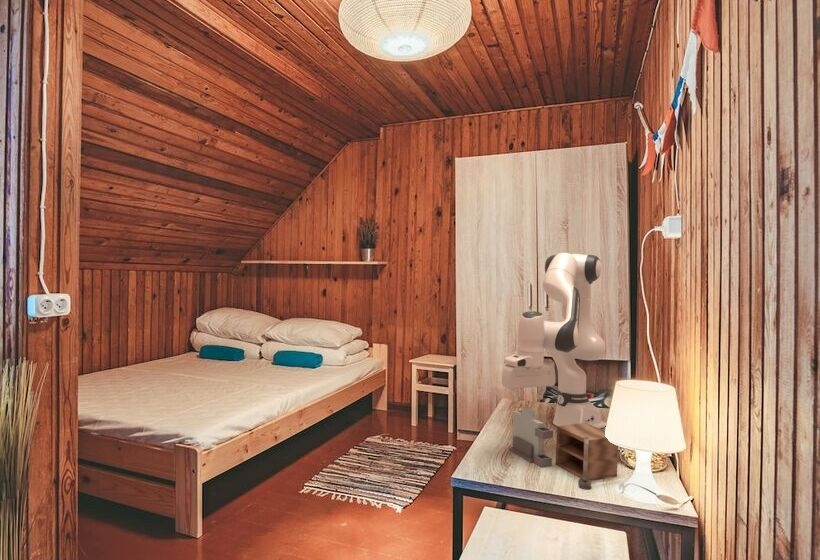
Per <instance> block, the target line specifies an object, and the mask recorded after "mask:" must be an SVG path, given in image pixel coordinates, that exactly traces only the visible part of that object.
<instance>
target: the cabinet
mask: <svg viewBox="0 0 820 560" xmlns="http://www.w3.org/2000/svg"><path fill="white" fill-rule="evenodd" d="M605 431H606V430H604V429H603V428H597V427H595V426H592V425H590V424H587V423H580V424H572V425H564V426H556V443H555V444H556V445H555V448H556V449H555V465H556V466H558V467H559V468H561V469H563V470H564V471H567V472H568V473H570V474H572V475H574V476H575V477H577V478H580V479H578V481H577V484H578V487H579V488H580V489H582V490H591V489H592V482H593V481H594V482H595V481H600V480H605V479H610V478H616V477H617V476H618V460H619V459H618V457H619V456H618V455H619V448H618V446H616V445H614V444H612V443H610V442H609V441H608V439H607V438H606V437H605Z"/></svg>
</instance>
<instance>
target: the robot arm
mask: <svg viewBox="0 0 820 560" xmlns="http://www.w3.org/2000/svg"><path fill="white" fill-rule="evenodd" d="M601 272H602V264H601V259H600V258H599V257H598V256H597V255H593V254H581V253H569V252H559V253H557V254H552V255H550V256H548V258H546V260H545V263H544V273H545V274H544V277H543V281H542V287H543V290H544V292H545V295H547V296H548V297H549V298H551V299H552V300H554V301H556V302H559V303H561V304H562V307H561V308H562V309H561V316H562V317H563V319H564V320H563V321H559V322H558V321H549V320H545V317H544V314H543V313H542V312H540V311H532V310H531V311H524V312H523V313H521V315H520V318H519V321H518V328H517V330H518V331H517V339H518V346H517V348H516V352H515V353H513V354H511V355H509V356H506V357H504V359H503V362H504V364H505V365H504V366H503V369H502V373H501V374H502V375H501V384H502V386H503V387H504V388H505V389H509V390H510V391H511V393H512V395H513V401H514V402H520V401H521V395H519V394H518V392H519V389H525V388H526V389H527V388H529V389H530V388H539V391H538V393H536V397H535V398H536V400H539V401H540V400H543V399H544V395H545V393H546V390H547V387H554V386H555V384H556V370H555V365H556V369H557V377H558V378H557V379H558V380H557V381H558V382H557V383H558V385H557V390H556V407H555V411H554V412H555V413H554V418H553V420H552V423H553V425H554V426H556V427H557V426H564V425H572V424H580V423H587V424H590V425H592V426H595V427H597V428H599V429H604V428H606V427H605V425H606V422H605V421H603V420H602V412H601V411H600V409H599V408H598V407H596V406H595V405H594V404H593V403H592V402H591V401H590V399H594V393H592V392H587V374H586V371H584V370H583V369H582V368H581V367H580V366H579V365H578V364H577V361H576V360H575V359H577V360H582V361H599V360H601V359H602V358H603V357H604V355H605V352H606V347H607V346H606V343H605V341H604V338H602V336H600V335H599V334H598V333H597V331H596V330H595V328H594V326H593V323H592V318H591V303H592V290H591V289H592V287H591V286H592V284H593V282H596V281H597V280H598V279H599V278H600V276H601ZM545 350H546V352H547V353H548V354H549V355H550V356H551V357H552V359H553V360H552V359H551V358H545V357H544V355H545ZM589 398H590V399H589Z"/></svg>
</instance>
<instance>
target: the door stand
mask: <svg viewBox="0 0 820 560" xmlns="http://www.w3.org/2000/svg"><path fill="white" fill-rule="evenodd" d="M533 447H534V446H533V445H531V444H529V443H527V442H525V441H524V440H522V439H520V438H518V437H516V436H513V446H508V450H509V452H512V453H513V454H515V455H516V456H518V457H520V458H522V459H524V460H525V461H527V462H529V463H531V464H532V463H534V458H533Z"/></svg>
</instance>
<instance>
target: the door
mask: <svg viewBox="0 0 820 560" xmlns="http://www.w3.org/2000/svg"><path fill="white" fill-rule="evenodd" d="M512 413H513V414H512V437H511V439H512V440H511V447H513V436H516V437H518V438H520V439H522V440H524V441H525V442H527V443H529V444H531V445H533V446H534V447H533V458H534V462H533V463H534V464H535V465H537V466H539V467H541V468H546V467H547V468H548V467H551V466H553V457H551V456H549V455H548V454H545V453H544V452H543V450H544V440H548V439H553V438H554V430H553V429H551V428H549V427H547V426H544V425H545V423H544V422H543V421H541V420H539V419H536V418H535V409H533V408H531V407H529V406H522V407H521V412H520V411H518V410H517V411H513V412H512Z"/></svg>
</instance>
